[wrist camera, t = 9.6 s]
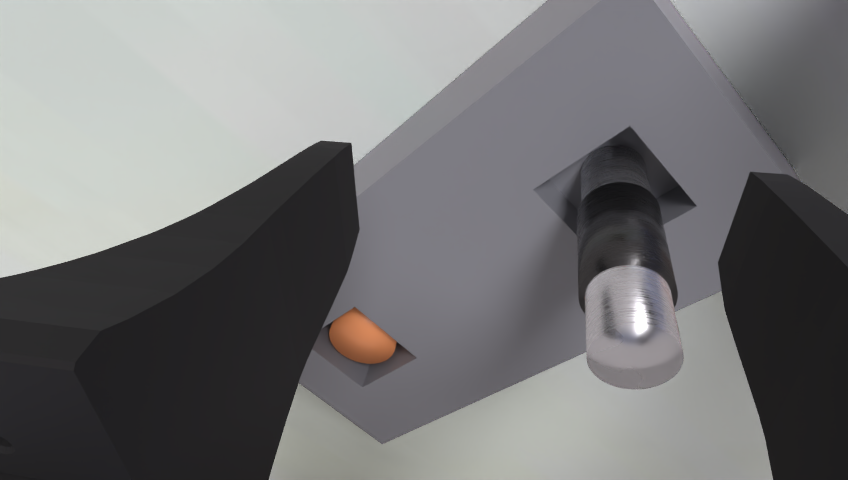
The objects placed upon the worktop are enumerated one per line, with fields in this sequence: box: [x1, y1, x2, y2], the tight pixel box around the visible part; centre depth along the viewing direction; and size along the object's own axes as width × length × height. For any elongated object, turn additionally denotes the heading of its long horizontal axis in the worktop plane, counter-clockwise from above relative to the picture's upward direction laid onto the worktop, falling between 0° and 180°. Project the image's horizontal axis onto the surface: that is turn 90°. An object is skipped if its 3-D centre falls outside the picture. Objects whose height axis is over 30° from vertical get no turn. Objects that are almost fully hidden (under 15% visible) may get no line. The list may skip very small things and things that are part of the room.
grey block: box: [299, 0, 800, 444], centre depth 23 cm, size 20×10×4 cm, turn 135°
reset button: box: [329, 307, 397, 364], centre depth 27 cm, size 3×3×3 cm
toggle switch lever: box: [577, 144, 684, 389], centre depth 17 cm, size 2×2×8 cm
